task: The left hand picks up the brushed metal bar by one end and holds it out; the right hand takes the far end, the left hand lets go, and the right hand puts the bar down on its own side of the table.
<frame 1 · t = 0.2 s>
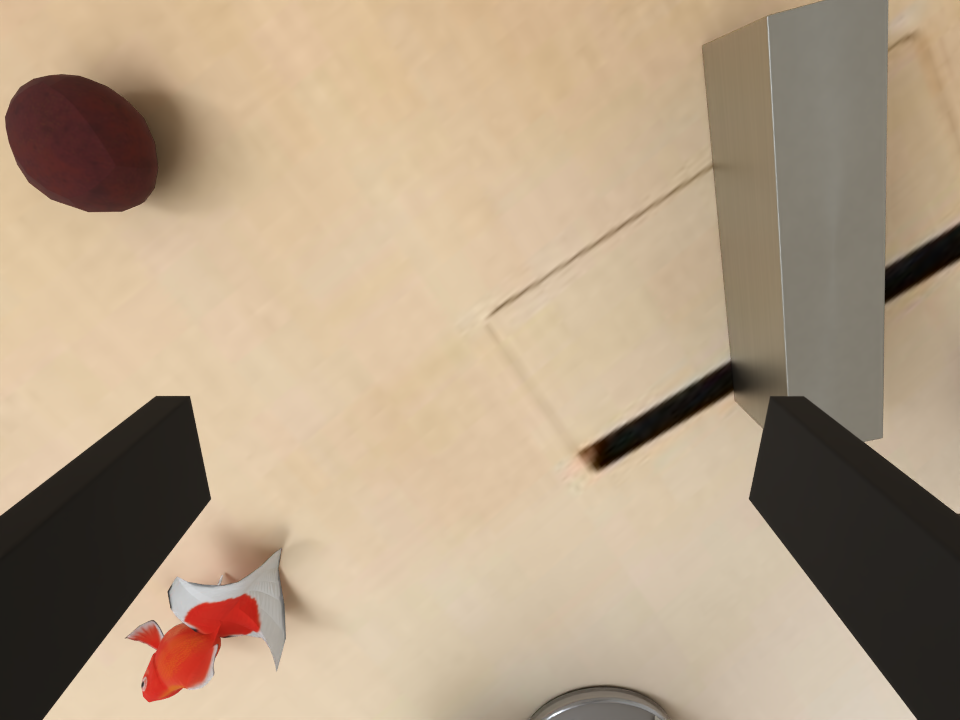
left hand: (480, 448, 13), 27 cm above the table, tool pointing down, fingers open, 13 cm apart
dark red ball: (124, 148, 36), on the table
bar: (761, 233, 38), on the table
fish: (232, 585, 49), on the table
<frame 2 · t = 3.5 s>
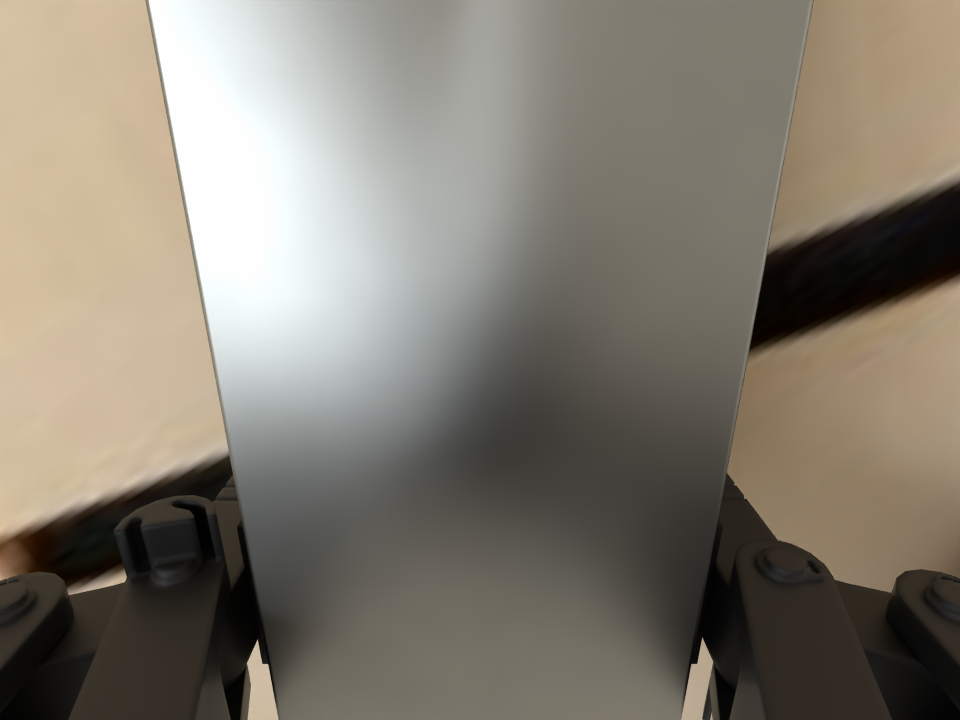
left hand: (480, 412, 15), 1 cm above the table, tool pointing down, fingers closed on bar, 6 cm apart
bar: (479, 15, 12), on the table, touching left hand
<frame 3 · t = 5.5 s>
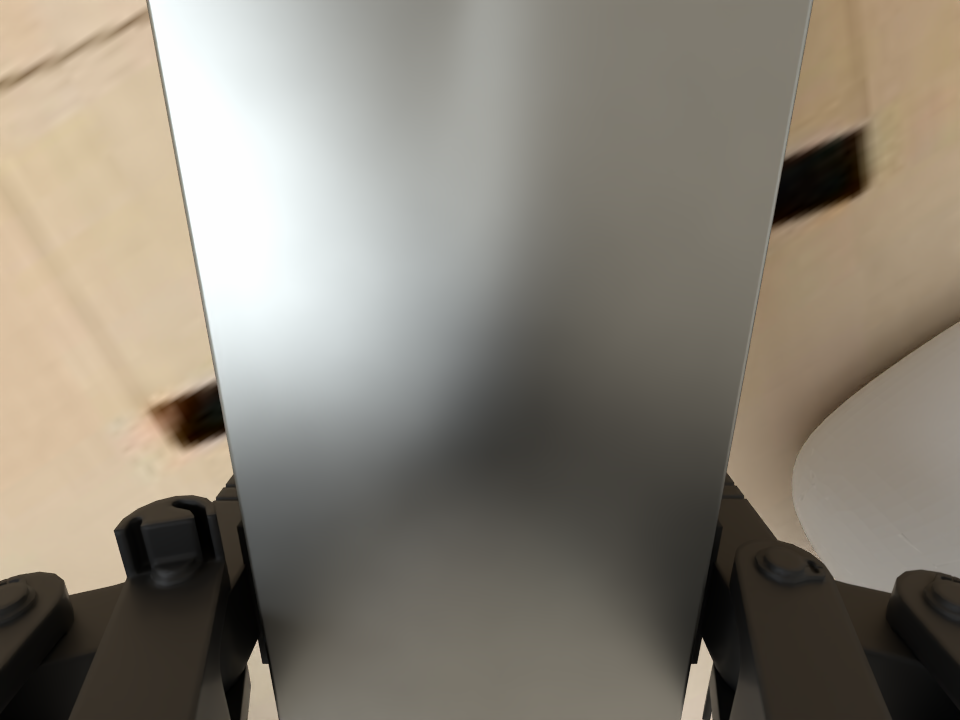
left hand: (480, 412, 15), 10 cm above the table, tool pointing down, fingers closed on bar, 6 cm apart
bar: (479, 14, 12), point 9 cm above the table, touching left hand
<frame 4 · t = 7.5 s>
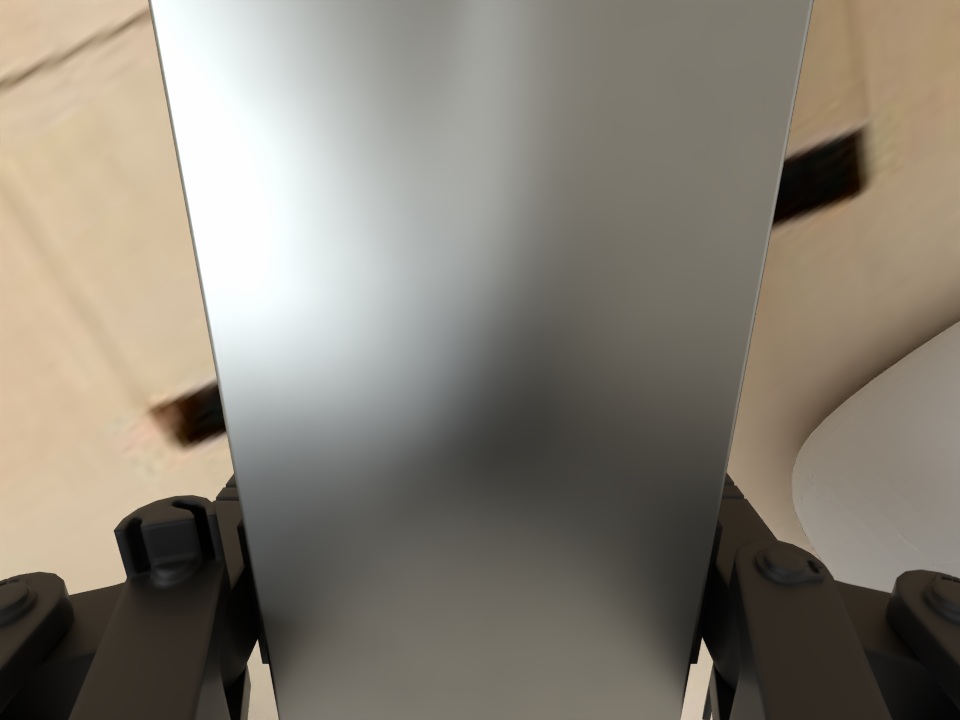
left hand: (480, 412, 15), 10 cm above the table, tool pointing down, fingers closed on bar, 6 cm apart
bar: (480, 15, 12), point 9 cm above the table, touching left hand, right hand
when the left hand's fingers open (10 cm above the table, at t = 8.1 s): bar stays where it is, held by the right hand.
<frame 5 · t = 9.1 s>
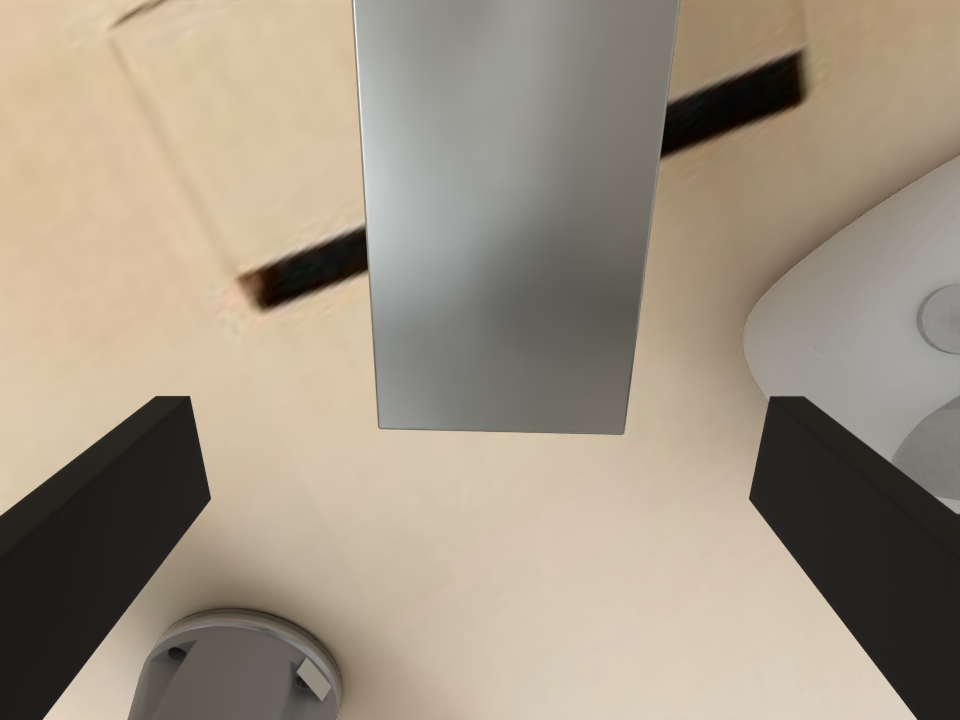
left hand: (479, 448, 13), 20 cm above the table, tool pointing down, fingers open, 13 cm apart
projector: (940, 278, 31), on the table
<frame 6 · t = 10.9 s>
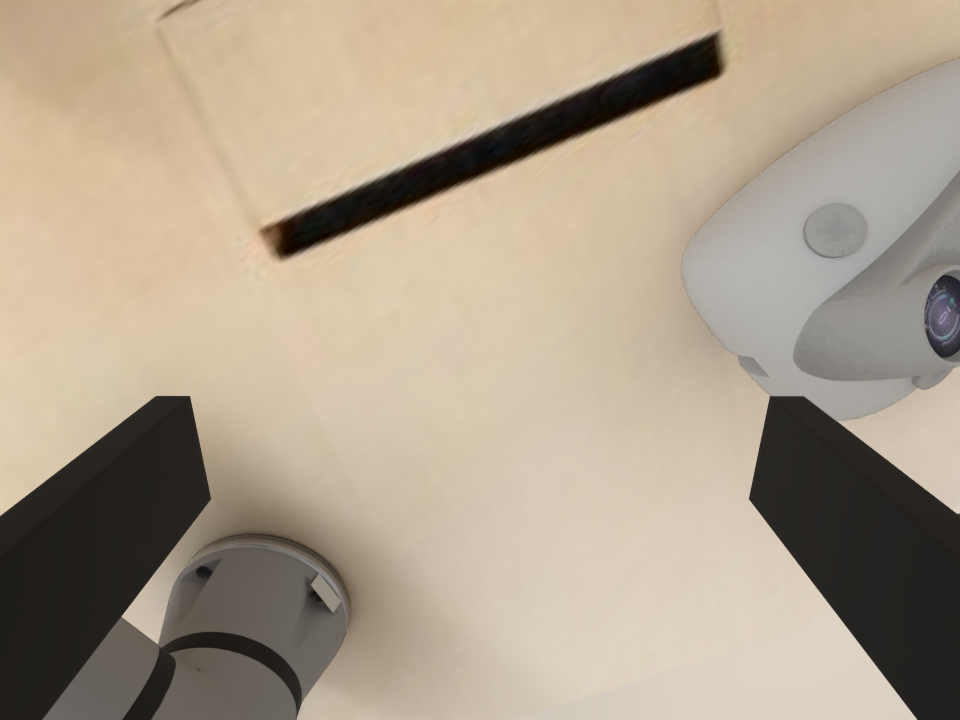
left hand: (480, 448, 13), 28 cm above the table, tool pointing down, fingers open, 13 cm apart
projector: (843, 219, 38), on the table
when the right hand's fingers open (2 cm above the table, at t = 14.9 s): bar drops 1 cm, on the table.
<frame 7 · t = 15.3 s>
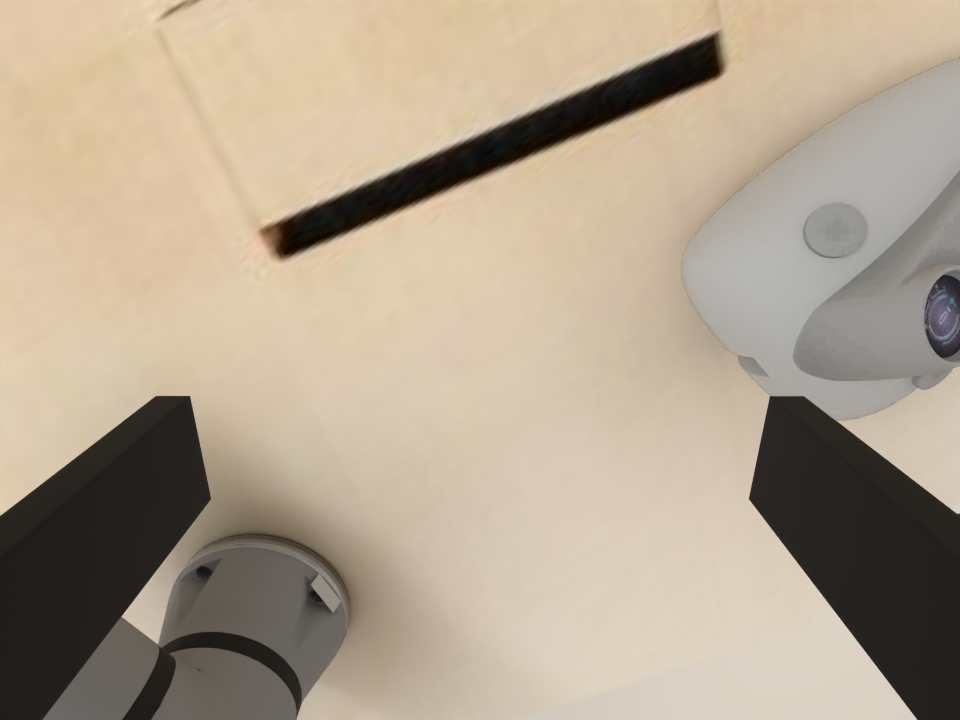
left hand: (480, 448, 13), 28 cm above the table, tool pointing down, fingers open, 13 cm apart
projector: (843, 219, 38), on the table
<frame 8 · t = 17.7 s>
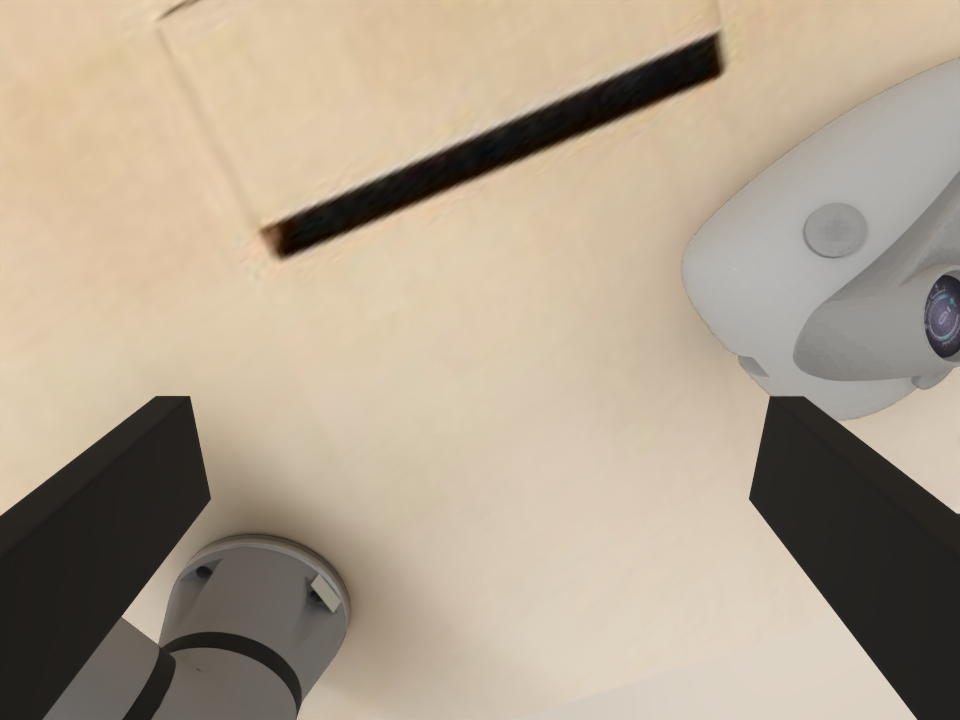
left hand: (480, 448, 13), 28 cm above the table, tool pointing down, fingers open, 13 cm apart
projector: (843, 219, 38), on the table
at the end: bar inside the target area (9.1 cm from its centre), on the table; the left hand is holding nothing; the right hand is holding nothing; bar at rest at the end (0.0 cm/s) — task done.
